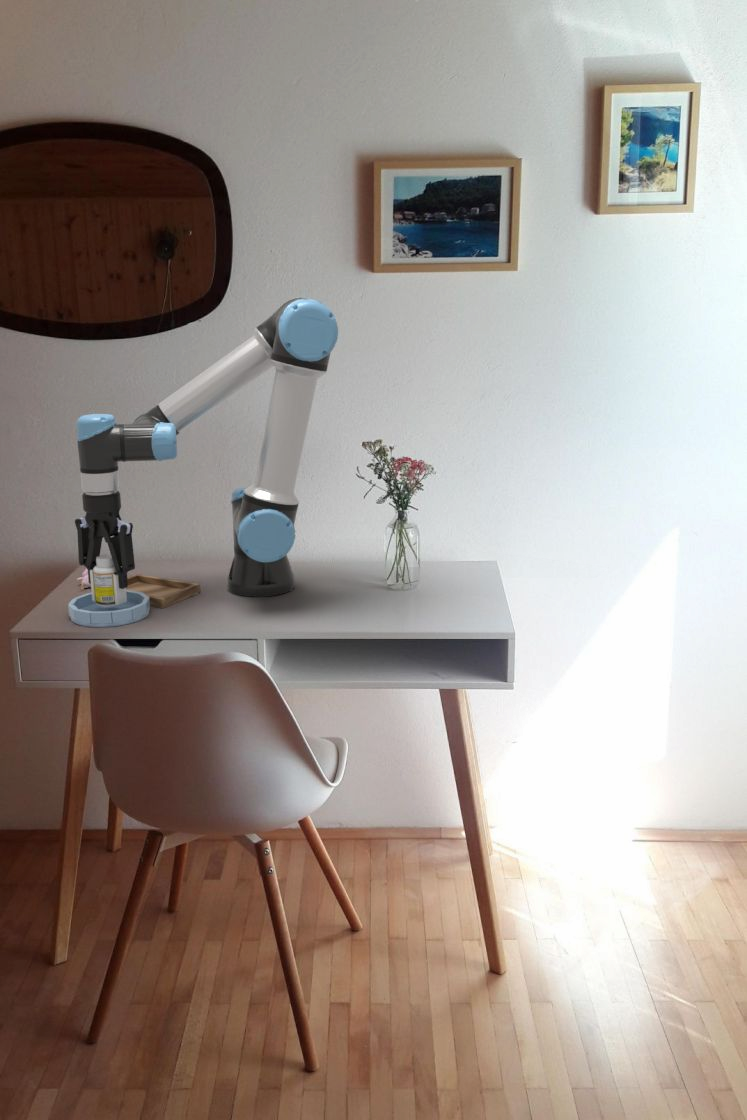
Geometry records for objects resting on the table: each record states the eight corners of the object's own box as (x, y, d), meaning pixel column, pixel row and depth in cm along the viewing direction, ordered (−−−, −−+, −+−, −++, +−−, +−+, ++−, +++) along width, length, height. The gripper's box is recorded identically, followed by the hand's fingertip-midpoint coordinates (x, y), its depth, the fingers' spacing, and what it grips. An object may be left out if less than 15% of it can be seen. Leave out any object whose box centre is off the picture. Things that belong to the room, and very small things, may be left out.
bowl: (165, 609, 226) (164, 596, 225) (113, 631, 212) (112, 617, 211) (107, 599, 233) (106, 586, 232) (53, 620, 220) (52, 606, 219)
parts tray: (200, 592, 238) (199, 583, 237) (162, 608, 227) (162, 599, 226) (137, 582, 246) (136, 573, 245) (98, 597, 235) (97, 588, 234)
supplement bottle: (114, 598, 226) (111, 552, 223) (128, 604, 222) (125, 556, 219) (91, 604, 222) (87, 556, 220) (104, 610, 218) (100, 561, 216)
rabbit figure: (102, 596, 241) (112, 568, 254) (100, 572, 238) (109, 545, 252) (74, 597, 240) (85, 569, 254) (71, 573, 238) (82, 546, 251)
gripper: (149, 492, 215) (156, 602, 221) (79, 484, 223) (88, 590, 229) (124, 499, 208) (132, 612, 214) (53, 490, 217) (63, 599, 223)
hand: (109, 600), depth 222 cm, fingers closed on supplement bottle, 6 cm apart
